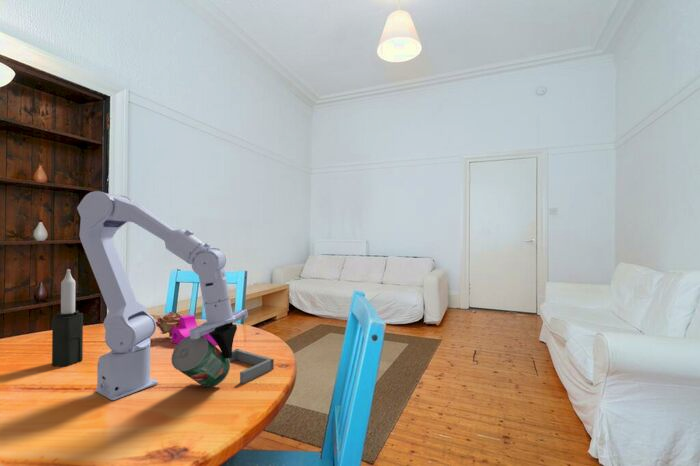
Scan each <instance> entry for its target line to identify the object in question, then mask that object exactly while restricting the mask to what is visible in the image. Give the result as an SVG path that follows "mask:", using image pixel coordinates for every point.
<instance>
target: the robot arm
mask: <svg viewBox="0 0 700 466" xmlns="http://www.w3.org/2000/svg"><path fill="white" fill-rule="evenodd" d="M76 209H77V211H78V215H79V217H80V223H79V239H80V242H81V245H82V247H83V249H84V253H85V255H86V258H87V261H88V262H89V265H90V268H91V270H92V273H93V275H94V278H95V280H96V283H97V286H98V288H99V290H100V293H101V296H102V298H103V300H104V302H105V305H106V308H107V310H108V312H107V314H106V316H105V318H104V320H103V323H102V324H103V326H104V329H105V334H104V341H105V344H106V346H107V347H108V349H110V351H109V352H108V353H105V354H103V355H101V356H99V358H98V361H97V372H96V373H97V375H96V376H97V379H96V382H97V383H96V384H97V385H96V386H97V388H95V392H97V394H100V395H102V396H104V397H105V398H107V399H109V400H111V401H116V400H118V399H121V398H124V397H126V396H129V395H131V394H134V393H137V392H139V391H143V390H145V389H147V388H150V387H153V386H155V385H159V381H158V380H156V379H154V378H152V377H151V337H152V336H153V335H154V333H155V332H156V329H157V325H156V322H157V321H156V319H155V318H154V317H153V316H152V315H151V314H150V313H149V312H148V310H147V307H146V306H145V305H144V304H142V303H140V302H138V301H137V299H136V296H135V294H134V292H133V289H132V287H131V283H130V281H129V278H128V276H127V274H126V270H125V268H124V266H123V263H122V261H121V258H120V256H119V253H118V250H117V248H116V245H115V243H114V241H113V238H114V235H116V233H117V231H118V230H119V229H121V228H122V227H123V226H124V225H126V224H127V223H134V224H136V225H137V226H138V227H140V228H142V229H144V230H145V231H147V232H148V233H151V235H154V236H156V237H157V238H159V239H161V240H162V241H164V246H165V249H166V250H167V251H169V252H170V253H172V254H174V255H175V256H177V257H178V258H179V259H180V260H183V261H184V262H185V263H187V264H189V265H191V268H192V271H193V272H194V273H195V274H196V275H197V276H198V281H199V285H200V287H199V288H200V293H201V297H202V302H203V309H204V313H205V318H206V321H204V322H203V323H201V324H200V325H197V327H196V328H193V329H191V330H189V333H190V339H198V338H200V336H203V335H205V334H207V333H209V335H210V336H211V337H212V338H213V339H214V340H215V342H216V343H217V345H216V346H218V349H219V350H220V351H221V352H222V354H223V355H224V357H225V358H231V357H232V351H233V343H234V338H235V335H236V332H237V329H238V327H237V324H234V323H236V322H238V321H241V320H244V319H246V318H249V313H248V309H241V310H238V311H237V310H236V311H235V312H233V308H232V303H231V298H230V297H231V296H230V292H229V287H228V281H227V277H226V272H225V267H226V263H227V258H226V255H225V254H224V252H223V251H222V250H221V249H220V248H217V247H212V248H211V243H209V242H203V240H201V239H199V238H198V237H196V236H195V235H194V231H192V230H191V229H184V228H179V229H174V228H173V227H172V226H170V225H169V224H168V223H166V222H165V221H163V220H162V219H161V218H159V217H158V216H156V215H155V213H152V212H151V211H150V210H149V209H147V208H146V207H144V206H143V205H142V204H140V203H139V202H138V201H135V200H132V199H131V198H130V197H129V196H125V195H118V194H111V193H108V192H107V193H106V192H103V191H98V190H95V191H90V192H89V193H87V194H86V195H84V197H83V198H82V200H81V201H80V203H79V204H78V206H76Z"/></svg>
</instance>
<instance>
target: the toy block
mask: <svg viewBox="0 0 700 466" xmlns="http://www.w3.org/2000/svg"><path fill="white" fill-rule="evenodd" d="M197 326H198V323H197V321H196V316H195V315H194V314H188V315H187V314H186V316H183V315H182V317H179V327H174V328H172V337H171V343H172V344H173V343H174V344H176V345H178V344H179V343H180V342H181V341H182V340H183V339H184V338H186V337H188V336H190V333H189V330H191V329H193V328H196V327H197ZM203 336H204V337H205V338H206V339H207V340H209V341H210V342H211V343H212V344H213V345H214V346H215V347H217V346H218V345H217V343H216V342H215V340H214V339H213V338H212V337H211V336H210V335H209V333H207V334H205V335H203Z"/></svg>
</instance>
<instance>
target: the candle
mask: <svg viewBox="0 0 700 466" xmlns="http://www.w3.org/2000/svg"><path fill="white" fill-rule="evenodd" d="M65 271H66V273H65V276H64V278H63V280H62V281H61V282H60V284H61V285H60V311H59V312H57V313H56V315H53V316H52V334H51V336H52V337H51V338H52V339H51V341H52V343H51V345H52V346H51V347H52V348H51V366H53V367H59V368H65V367H70V366H72V365H74V364H77V363H80V362H82V361H83V355H84V354H83V349H84V346H83V345H84V344H83V343H84V341H83V339H84V337H83V335H84V331H83V329H84V313H83V312H80V310H76V280H75V279H74V278H73V276H72V274H71V273H72V272H71V269H69V268H67V269H66V270H65Z"/></svg>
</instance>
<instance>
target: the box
mask: <svg viewBox="0 0 700 466" xmlns="http://www.w3.org/2000/svg"><path fill="white" fill-rule="evenodd" d="M229 360H230V363H232V362H234V361H236V360H237V361H240V362H243V363H246V364H250V365H252V366H250V367H249V368H246V369H244V370H242V371H240V372H239V383H240V384H245V383H247V382H249V381H252V380H253V379H256V378H258V377H260V376H262V375H263V374H264V375H265V374H266V373H268V372H270V371H272V370H274V367H275V366H274V365H275V363H274V362H275V360H274V358H271V357H267V356H263V355H260V354H256V353H252V352H249V351H245V350H243V349H239V348H236V349H234V350H233V349H232V357H231V358H229Z"/></svg>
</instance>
